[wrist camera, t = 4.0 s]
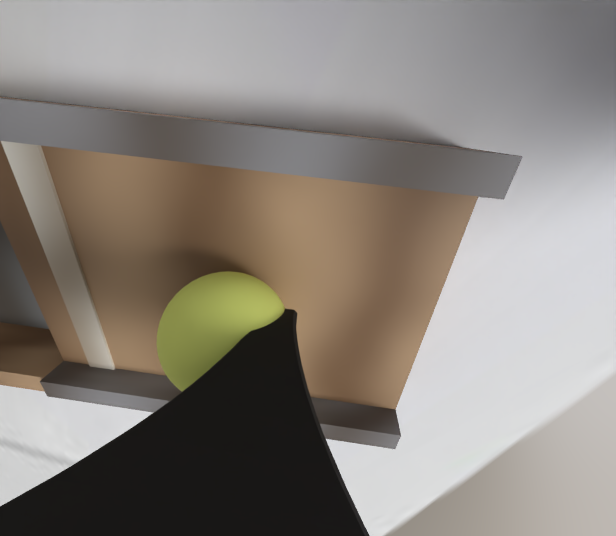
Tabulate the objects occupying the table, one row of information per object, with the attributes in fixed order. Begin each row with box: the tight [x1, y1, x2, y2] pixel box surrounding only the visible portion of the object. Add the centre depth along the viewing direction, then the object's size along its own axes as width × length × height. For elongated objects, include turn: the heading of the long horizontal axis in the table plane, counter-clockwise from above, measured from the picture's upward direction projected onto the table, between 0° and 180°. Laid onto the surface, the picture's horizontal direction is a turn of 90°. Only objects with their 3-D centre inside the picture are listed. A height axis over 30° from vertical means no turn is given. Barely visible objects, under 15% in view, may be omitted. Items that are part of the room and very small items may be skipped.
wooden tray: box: [0, 97, 522, 449], centre depth 11 cm, size 24×12×3 cm, turn 84°
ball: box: [157, 271, 285, 391], centre depth 9 cm, size 4×4×4 cm
